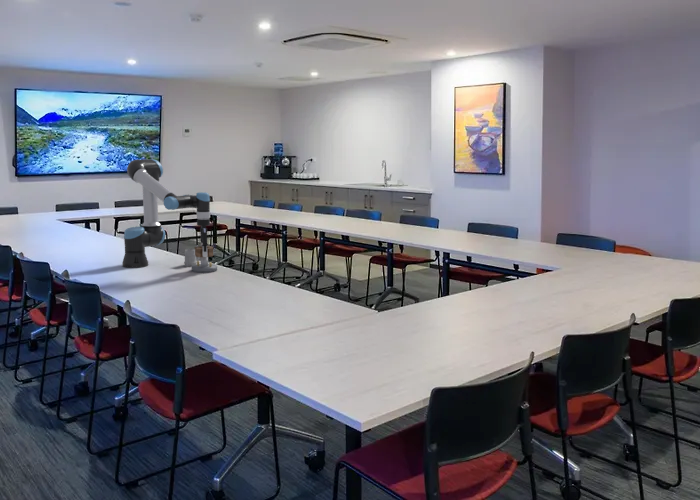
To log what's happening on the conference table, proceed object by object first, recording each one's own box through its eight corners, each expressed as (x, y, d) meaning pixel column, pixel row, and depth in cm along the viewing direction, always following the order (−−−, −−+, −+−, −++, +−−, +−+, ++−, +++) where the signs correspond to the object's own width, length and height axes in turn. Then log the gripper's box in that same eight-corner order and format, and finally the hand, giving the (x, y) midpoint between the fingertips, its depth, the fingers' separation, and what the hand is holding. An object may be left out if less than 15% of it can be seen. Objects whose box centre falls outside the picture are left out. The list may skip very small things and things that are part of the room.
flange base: (186, 271, 372) (186, 258, 370) (200, 267, 386) (200, 254, 384) (208, 273, 367) (208, 260, 365) (221, 269, 381) (221, 256, 379)
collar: (195, 257, 368) (195, 249, 367) (194, 254, 378) (194, 246, 377) (214, 256, 371) (214, 248, 370) (212, 253, 381) (212, 245, 380)
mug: (181, 265, 390) (180, 246, 388) (195, 262, 399) (195, 244, 397) (190, 266, 386) (189, 247, 384) (204, 264, 395) (203, 245, 393)
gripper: (211, 220, 361) (212, 258, 365) (208, 216, 383) (208, 251, 387) (198, 221, 359) (199, 258, 363) (195, 216, 381) (196, 252, 384)
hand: (204, 255), depth 375 cm, fingers closed on collar, 11 cm apart
